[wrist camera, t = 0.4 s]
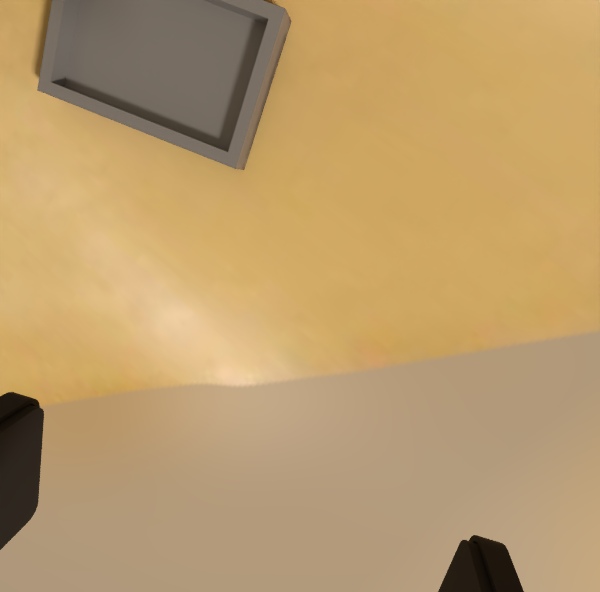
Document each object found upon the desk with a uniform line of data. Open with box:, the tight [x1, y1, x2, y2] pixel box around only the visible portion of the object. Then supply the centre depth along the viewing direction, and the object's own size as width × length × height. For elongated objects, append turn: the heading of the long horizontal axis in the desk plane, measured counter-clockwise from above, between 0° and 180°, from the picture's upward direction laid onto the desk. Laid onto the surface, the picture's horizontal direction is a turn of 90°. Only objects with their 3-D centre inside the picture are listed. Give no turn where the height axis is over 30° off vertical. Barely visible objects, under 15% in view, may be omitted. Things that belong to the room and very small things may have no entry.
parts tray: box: [37, 0, 291, 170], centre depth 34 cm, size 12×18×2 cm, turn 69°
